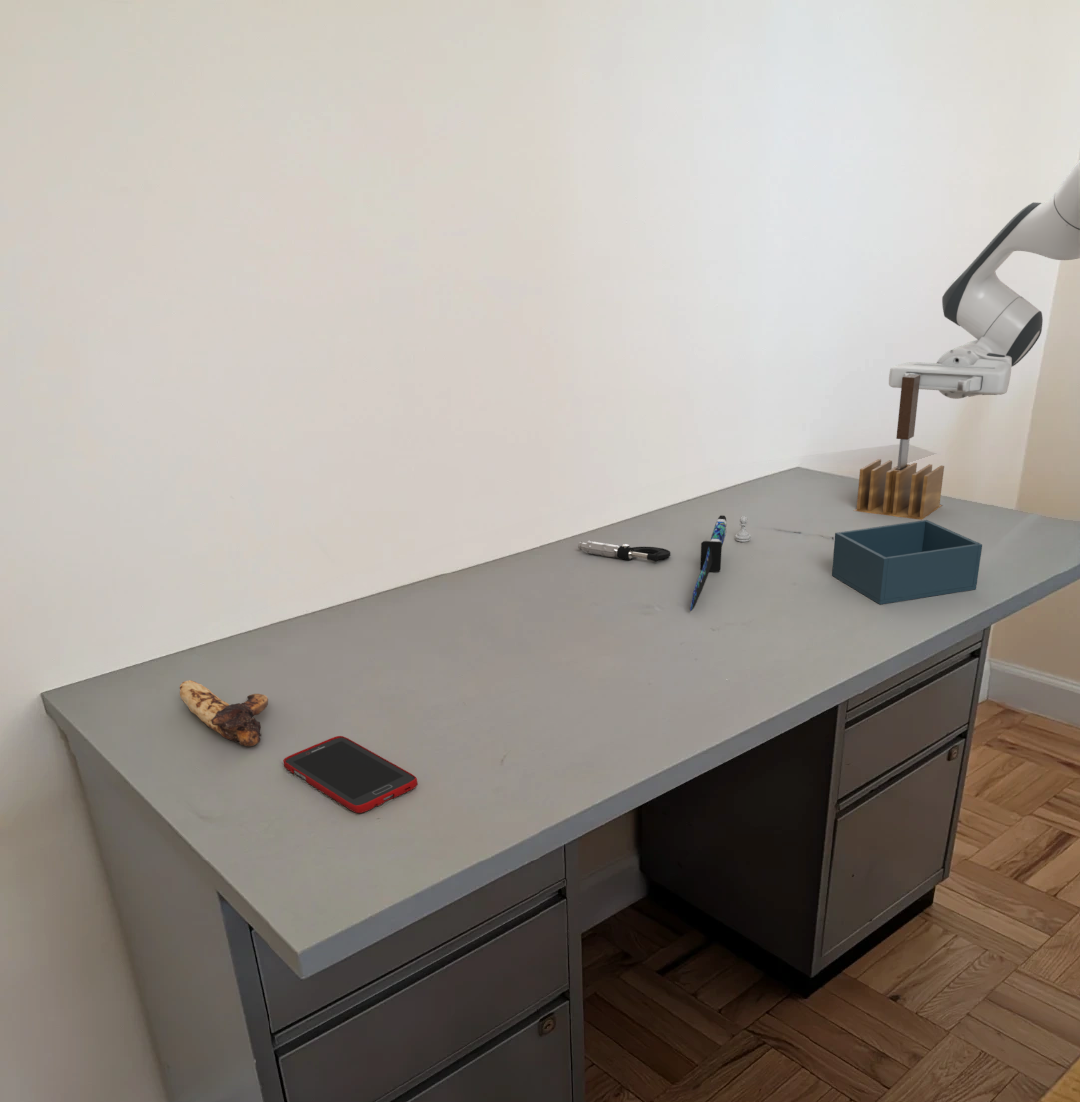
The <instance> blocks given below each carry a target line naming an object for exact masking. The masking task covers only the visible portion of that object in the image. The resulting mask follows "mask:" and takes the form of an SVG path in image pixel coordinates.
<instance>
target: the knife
mask: <svg viewBox="0 0 1080 1102" xmlns="http://www.w3.org/2000/svg"><path fill="white" fill-rule="evenodd" d="M726 536H727V517H726V515H723V514H721V515H718V518H717V519H716V520H715V525H714V527H713V531H712V534H711V537H710V540H703V541H701V543H700V560H699V561H700V564H699V570H700V573H699V575H698V577H697V579H696V582H695V585H694V588H693V592H692V597H691V601H690V608H689V610H690V612H692V611H693V610H694V609H695V606H696V605H697V602H698V600H699V598H700V595H701V594H702V592H703V589H704V586H705V584H706V581H707V578H708V576H709V573H710V572H713V573H719V572H721V567H722V552H723V551H722V548H723V545H724V543H725V539H726Z"/></svg>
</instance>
